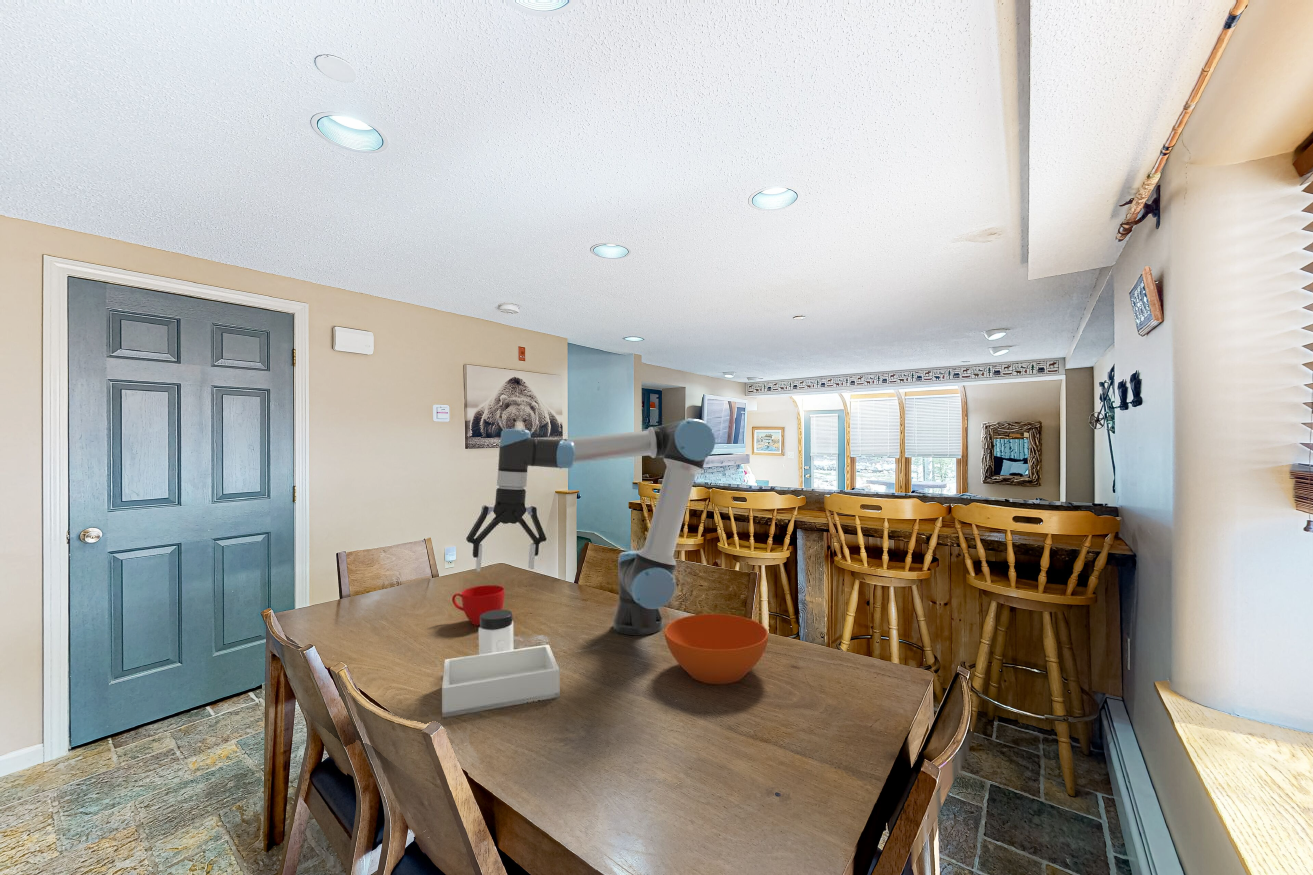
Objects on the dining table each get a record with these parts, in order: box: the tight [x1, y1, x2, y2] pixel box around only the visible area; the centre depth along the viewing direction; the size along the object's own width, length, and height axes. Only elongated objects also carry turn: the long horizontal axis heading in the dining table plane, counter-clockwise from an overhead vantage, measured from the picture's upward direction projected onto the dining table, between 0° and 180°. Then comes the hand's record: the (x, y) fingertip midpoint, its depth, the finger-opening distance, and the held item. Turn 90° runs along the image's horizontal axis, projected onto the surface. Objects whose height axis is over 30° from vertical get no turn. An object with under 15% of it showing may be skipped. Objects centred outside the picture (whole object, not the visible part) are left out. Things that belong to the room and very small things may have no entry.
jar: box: [478, 609, 515, 655], centre depth 134 cm, size 9×8×12 cm
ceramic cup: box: [451, 584, 505, 626], centre depth 165 cm, size 13×17×10 cm
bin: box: [441, 644, 561, 719], centre depth 117 cm, size 24×16×6 cm, turn 110°
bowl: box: [664, 613, 769, 685], centre depth 126 cm, size 25×25×10 cm
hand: (505, 569), depth 135 cm, fingers open, 13 cm apart
